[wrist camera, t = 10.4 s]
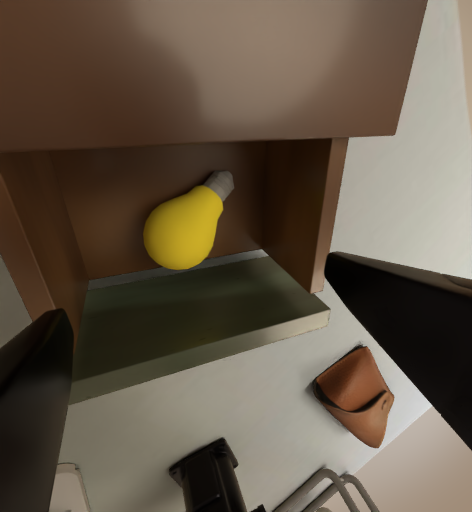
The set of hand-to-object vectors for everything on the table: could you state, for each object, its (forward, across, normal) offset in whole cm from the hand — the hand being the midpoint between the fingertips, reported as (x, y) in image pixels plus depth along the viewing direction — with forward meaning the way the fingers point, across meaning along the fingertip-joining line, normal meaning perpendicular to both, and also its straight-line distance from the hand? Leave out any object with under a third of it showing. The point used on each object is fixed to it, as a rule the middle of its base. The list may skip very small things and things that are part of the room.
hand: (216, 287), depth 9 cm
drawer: (+8, 0, +1) cm, 8 cm away
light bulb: (+7, -1, -1) cm, 7 cm away
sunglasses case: (+9, -21, +28) cm, 36 cm away
